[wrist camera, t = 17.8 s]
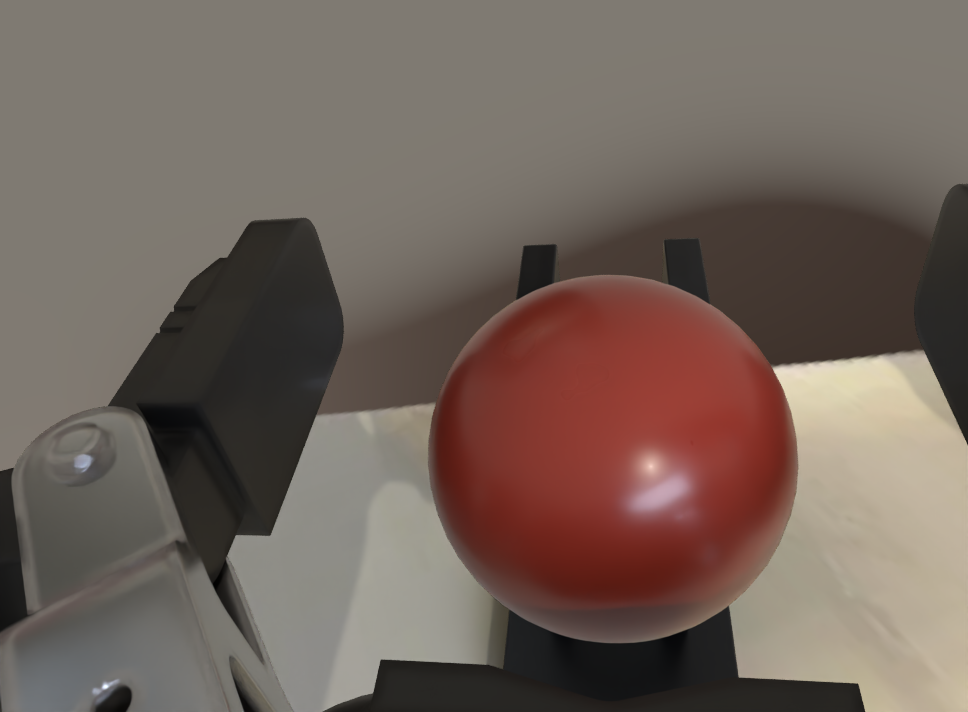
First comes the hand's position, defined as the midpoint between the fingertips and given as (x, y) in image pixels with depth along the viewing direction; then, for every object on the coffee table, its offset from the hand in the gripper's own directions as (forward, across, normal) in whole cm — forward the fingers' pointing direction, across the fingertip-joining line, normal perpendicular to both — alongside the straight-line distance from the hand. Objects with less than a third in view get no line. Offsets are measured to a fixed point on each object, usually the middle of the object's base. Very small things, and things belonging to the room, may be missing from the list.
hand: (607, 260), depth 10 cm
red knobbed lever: (+1, 0, +6) cm, 6 cm away
